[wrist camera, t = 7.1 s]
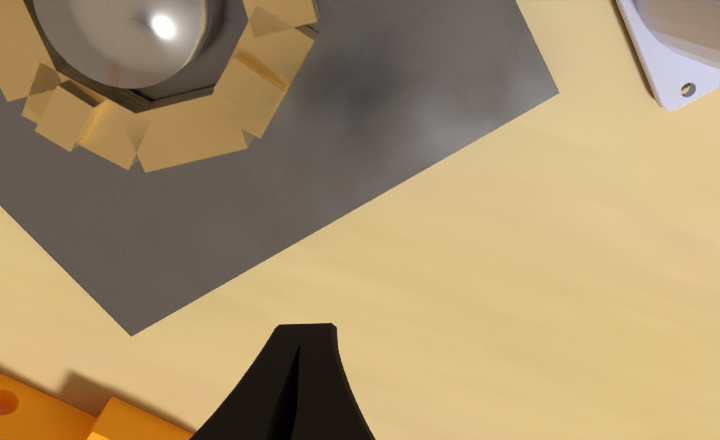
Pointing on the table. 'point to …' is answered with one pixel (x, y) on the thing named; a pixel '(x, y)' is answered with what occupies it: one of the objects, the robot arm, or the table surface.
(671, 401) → the table surface
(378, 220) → the table surface
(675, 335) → the table surface
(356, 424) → the robot arm
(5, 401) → the pipe clamp
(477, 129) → the housing
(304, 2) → the ring nut
